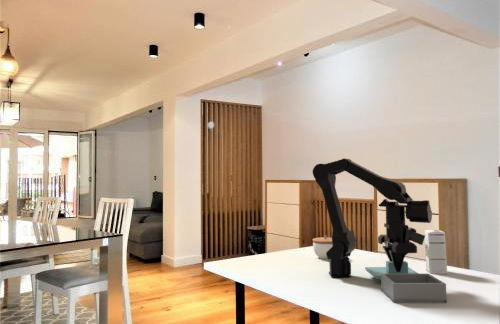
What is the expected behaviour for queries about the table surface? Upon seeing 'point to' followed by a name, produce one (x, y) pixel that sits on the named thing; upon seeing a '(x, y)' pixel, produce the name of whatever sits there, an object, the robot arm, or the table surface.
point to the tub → (413, 288)
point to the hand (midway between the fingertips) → (396, 270)
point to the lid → (389, 270)
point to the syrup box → (435, 252)
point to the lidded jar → (322, 246)
